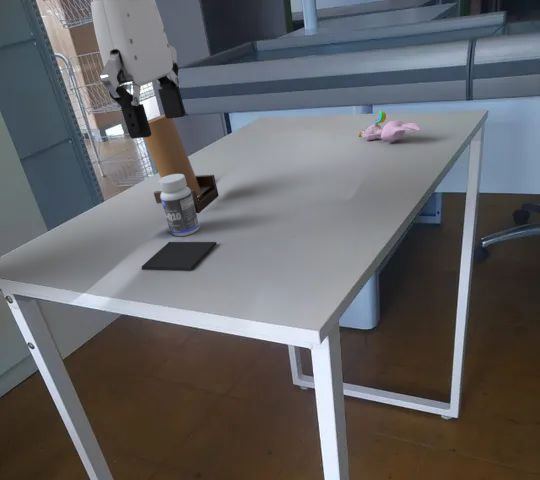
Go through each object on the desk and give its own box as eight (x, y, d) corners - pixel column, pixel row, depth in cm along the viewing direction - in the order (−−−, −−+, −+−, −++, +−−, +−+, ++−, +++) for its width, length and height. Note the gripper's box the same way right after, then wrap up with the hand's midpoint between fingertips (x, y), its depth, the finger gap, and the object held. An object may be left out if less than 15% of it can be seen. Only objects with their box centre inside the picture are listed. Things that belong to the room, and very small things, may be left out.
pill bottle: (164, 235, 86) (149, 182, 81) (185, 223, 89) (171, 171, 84) (185, 238, 83) (170, 184, 78) (206, 226, 86) (193, 173, 81)
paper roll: (132, 128, 88) (159, 119, 85) (149, 118, 92) (176, 110, 89) (167, 210, 95) (193, 204, 92) (182, 198, 99) (208, 192, 96)
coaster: (142, 269, 77) (141, 266, 76) (170, 244, 82) (169, 241, 82) (191, 270, 74) (190, 267, 73) (216, 244, 79) (216, 241, 79)
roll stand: (159, 214, 95) (153, 192, 92) (181, 196, 100) (175, 176, 98) (198, 213, 92) (193, 191, 89) (218, 195, 97) (214, 174, 95)
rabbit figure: (353, 149, 111) (406, 145, 99) (348, 118, 109) (402, 110, 96) (376, 140, 114) (431, 135, 101) (371, 109, 111) (427, 101, 99)
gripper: (131, -19, 75) (166, 113, 85) (50, -5, 63) (103, 148, 72) (177, -30, 72) (209, 108, 82) (103, -17, 60) (150, 143, 70)
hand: (159, 126), depth 77 cm, fingers open, 9 cm apart
